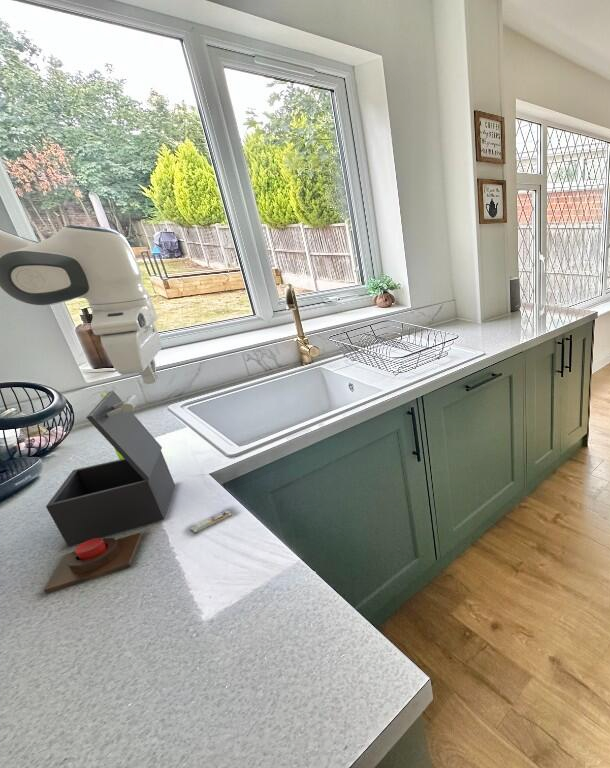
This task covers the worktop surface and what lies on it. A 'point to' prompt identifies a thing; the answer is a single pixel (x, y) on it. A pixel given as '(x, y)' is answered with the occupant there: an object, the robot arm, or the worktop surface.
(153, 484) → the grey lidded storage box
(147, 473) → the box lid
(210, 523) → the granola bar
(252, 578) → the worktop surface
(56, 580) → the button block
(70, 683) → the worktop surface
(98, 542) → the button
